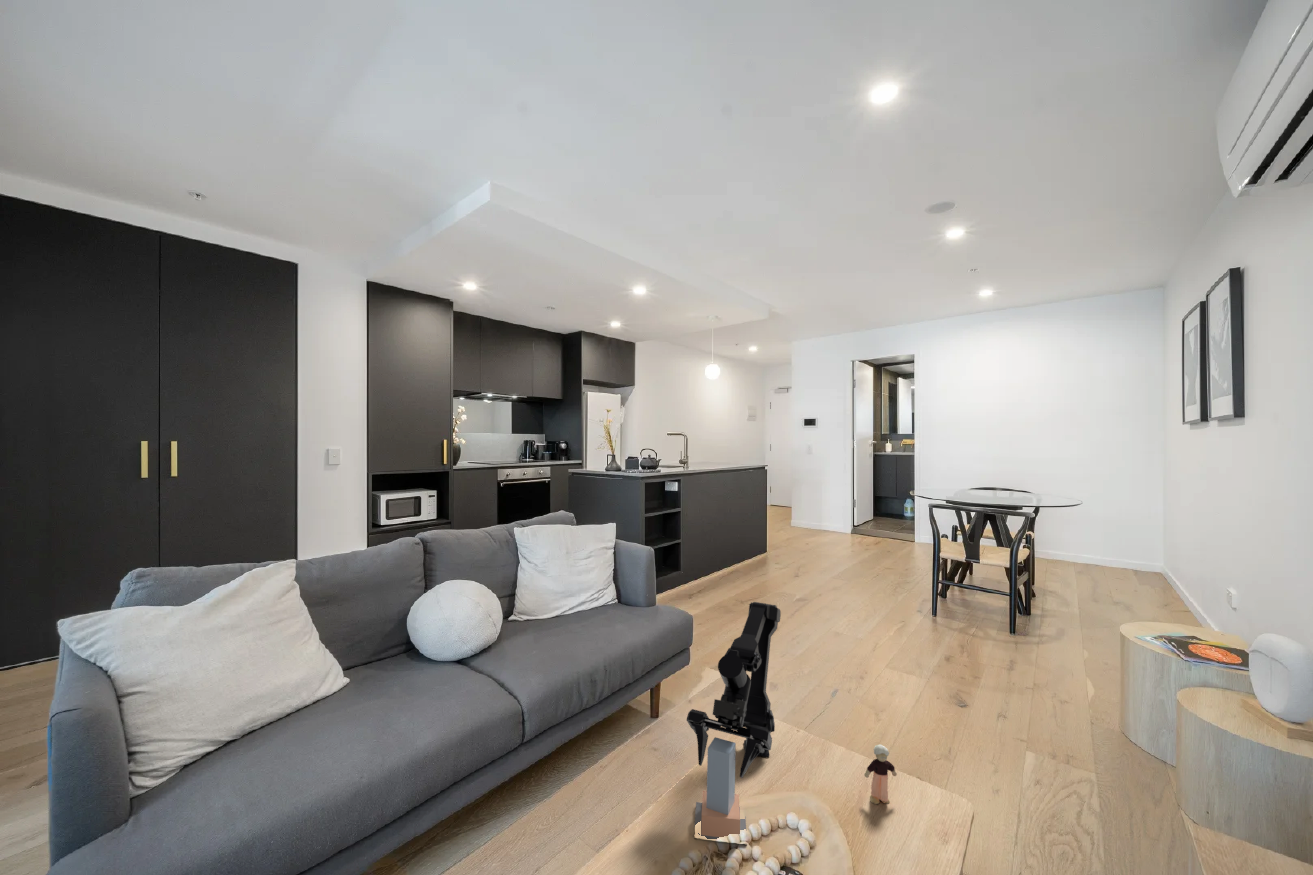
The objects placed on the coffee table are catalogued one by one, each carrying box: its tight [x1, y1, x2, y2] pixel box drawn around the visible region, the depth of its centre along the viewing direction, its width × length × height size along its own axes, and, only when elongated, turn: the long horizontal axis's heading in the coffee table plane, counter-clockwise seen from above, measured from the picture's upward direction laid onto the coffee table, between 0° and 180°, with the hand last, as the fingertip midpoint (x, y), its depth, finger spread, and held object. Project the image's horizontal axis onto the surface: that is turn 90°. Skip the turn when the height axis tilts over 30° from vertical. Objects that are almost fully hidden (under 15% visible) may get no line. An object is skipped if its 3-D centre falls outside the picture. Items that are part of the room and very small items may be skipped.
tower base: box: [694, 790, 747, 839], centre depth 109 cm, size 10×11×5 cm
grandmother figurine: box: [863, 744, 898, 805], centre depth 119 cm, size 8×4×13 cm, turn 105°
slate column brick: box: [706, 736, 737, 815], centre depth 108 cm, size 5×5×12 cm
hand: (720, 771), depth 108 cm, fingers open, 9 cm apart
